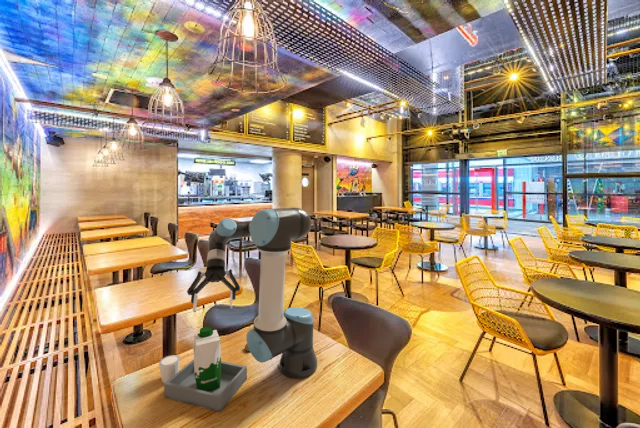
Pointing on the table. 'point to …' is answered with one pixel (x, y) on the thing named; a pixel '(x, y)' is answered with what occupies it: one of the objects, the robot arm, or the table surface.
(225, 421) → the table surface
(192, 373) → the bin
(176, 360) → the white round container
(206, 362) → the soya milk
